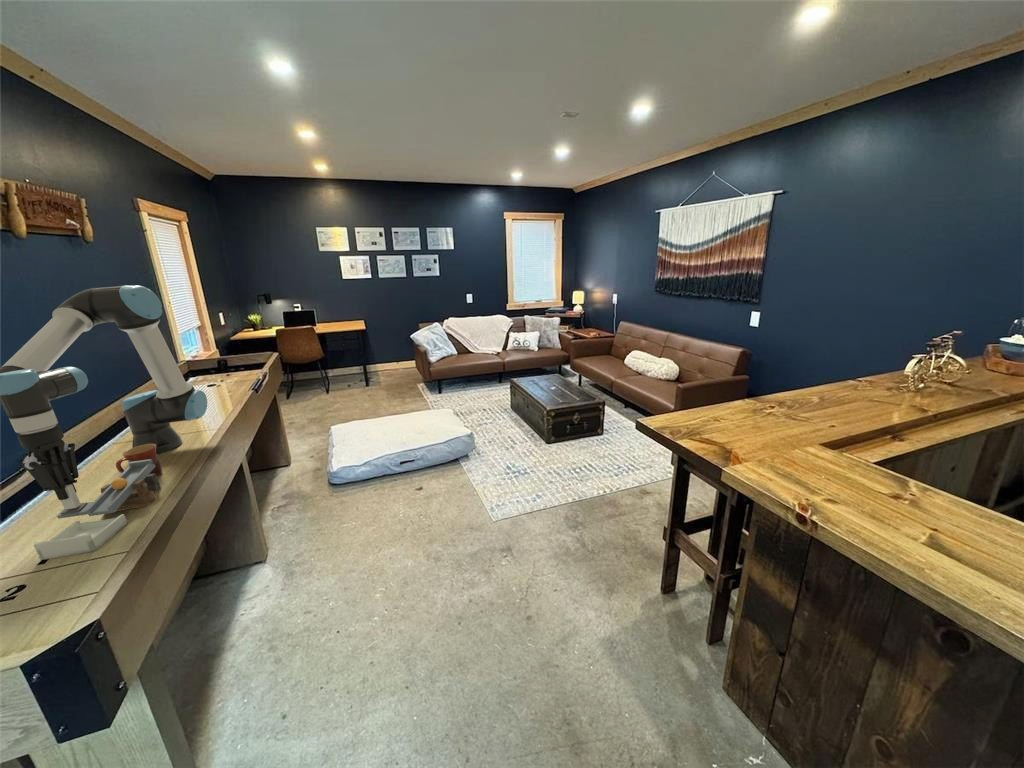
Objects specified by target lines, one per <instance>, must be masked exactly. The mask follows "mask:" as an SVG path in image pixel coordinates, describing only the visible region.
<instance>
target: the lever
mask: <svg viewBox="0 0 1024 768" xmlns="http://www.w3.org/2000/svg"><path fill="white" fill-rule="evenodd" d="M155 467H156V466H155V464H154V463H153V461H152V459H149V460H141V461H134V462H130V463H129V462H128V467H127V468H126V469H125V470H124V472H123V473H120V474H119V476H118V477H117V478H124V479H126V480H127V486H126V487H125V488H123V489H121V490H115V489H113V488H112V486H111V485H110V486H109V487H108V488H107V489H106V490H105V491H104V492H103V493H101V494H100V495H99V496H98V497H97V498H96V499H95V500H94V501H89V502H87V501H85V502H80V504H81V505H80V506H78V507H77V508H72V509H64V508H63V509H62V510H61V511H60V512H59V513H58V514H57V515H56V517H57V518H58V519H65V518H72V517H78V516H79V517H80V516H86V515H88V517H94V516H100V515H108V514H113V513H115V512H117V511H116V510H117V509H118V508H119V507H120V506H121V504H122V503H123V502H124V501H125V500H126V499H127V498H128V497H129V496H130V494H132V493H134V491H136V488H135V486H134V483H136V482H137V481H138V480H142V479H145V478H146V477H147V476H148V474H149V473H150V472H151V471H152V470H153V469H154V468H155Z"/></svg>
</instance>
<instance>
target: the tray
mask: <svg viewBox="0 0 1024 768" xmlns="http://www.w3.org/2000/svg"><path fill="white" fill-rule="evenodd" d="M128 524H129V523H128V520H127V517H126V516H125V513H123V514H119V515H118V516H117V517H113V518H108V519H107V518H106V519H102V520H94V521H87V522H86V521H85V522H80V520H77V521H74V522H73V523H72V524H70V525H69V526H67V527H66V528H65V529H63V530H62V531H60V532H58V534H56V535H55V536H54V537H52V538H50V539H49V540H46V541H45V540H44V541H38V542H35V543H34V544H33V547H34V549H35V551H36V553H37V555H38V557H39V559H40V560H41V561H43V560H49V559H56V558H61V557H67V556H74V555H80V554H86V553H92V552H96V551H97V550H98V549H99V548H100V547H102V546H103V545H104V544H105V543H107V542H108V541H109V540H110V539H111V538H112V537H113V536H115V535H116V534H117V533H118V532H119V531H121V530H122V529H123V528H124V527H126V526H127V525H128Z"/></svg>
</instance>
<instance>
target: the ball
mask: <svg viewBox="0 0 1024 768" xmlns="http://www.w3.org/2000/svg"><path fill="white" fill-rule="evenodd" d="M110 484H111V486H112V488H113V489H115V490H121V489H123V488H125V487H126V486H127V480H126V479H124V478H118V477H117V478H114V479H113V481H112V482H111V483H110Z"/></svg>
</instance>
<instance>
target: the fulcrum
mask: <svg viewBox="0 0 1024 768" xmlns="http://www.w3.org/2000/svg"><path fill="white" fill-rule="evenodd" d="M110 485H111V483H107V484H105V485H103V486H102V487H101V488H100V493H101V494H102V493H103V492H104V491H105V490H106V489H107V488H108V487H109V486H110ZM134 486H135V488H136V489H135V491H136V492H132V493H131V494H130V496H129V497H128V498H127V499H126V500H125V501H124V502H123V503H122V504H121V506H120V507H119V508H118V509H117V510H116V511H115V512H117V511H124V510H131V509H132V510H133V509H138V508H145V507H148V506H149V505H151V504H152V503H153V502H154V501H155V500H156V499H157V497H156V495H155V492H157V491H159V490H160V489H161V488H162V487H161V484H160V481H159V479H158V475H157V476H156V473H155V474H148V476H147V477H146V478H145V479H142V480H138V481H137V482H136V483H134Z"/></svg>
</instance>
